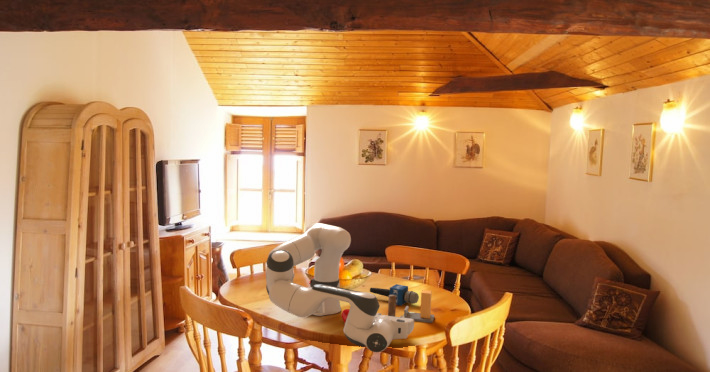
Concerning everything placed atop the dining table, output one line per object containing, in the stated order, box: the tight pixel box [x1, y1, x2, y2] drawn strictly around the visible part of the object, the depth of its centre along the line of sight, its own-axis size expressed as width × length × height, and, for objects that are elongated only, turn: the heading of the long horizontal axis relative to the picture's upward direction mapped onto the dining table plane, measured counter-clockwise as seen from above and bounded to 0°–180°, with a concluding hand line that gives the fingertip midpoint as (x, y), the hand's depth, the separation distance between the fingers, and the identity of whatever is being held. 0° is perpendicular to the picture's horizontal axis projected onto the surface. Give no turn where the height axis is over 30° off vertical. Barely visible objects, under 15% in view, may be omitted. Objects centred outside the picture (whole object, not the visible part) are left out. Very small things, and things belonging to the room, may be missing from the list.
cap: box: [340, 308, 350, 324], centre depth 212 cm, size 8×6×6 cm
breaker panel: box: [402, 305, 435, 324], centre depth 221 cm, size 13×8×4 cm, turn 76°
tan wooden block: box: [420, 289, 433, 319], centre depth 220 cm, size 4×4×11 cm
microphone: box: [369, 284, 420, 307], centre depth 244 cm, size 8×8×25 cm
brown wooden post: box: [387, 295, 397, 317], centre depth 206 cm, size 3×3×14 cm
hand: (391, 316), depth 203 cm, fingers open, 8 cm apart
